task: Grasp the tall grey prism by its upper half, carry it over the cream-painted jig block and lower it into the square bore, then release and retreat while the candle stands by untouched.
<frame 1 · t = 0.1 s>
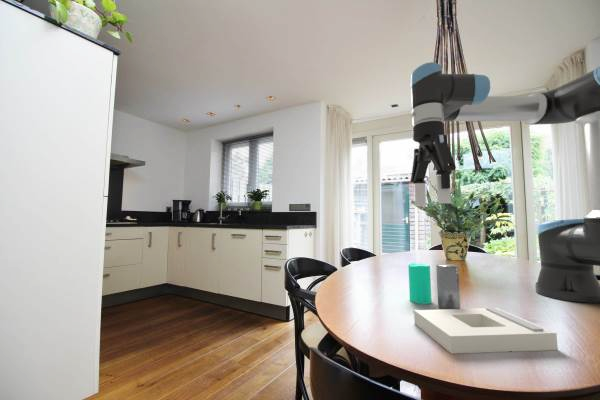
hand: (431, 205, 69), 28 cm above the table, fingers open, 13 cm apart
jig: (477, 335, 56), on the table
tall grey prism: (449, 313, 69), on the table
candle: (420, 301, 79), on the table
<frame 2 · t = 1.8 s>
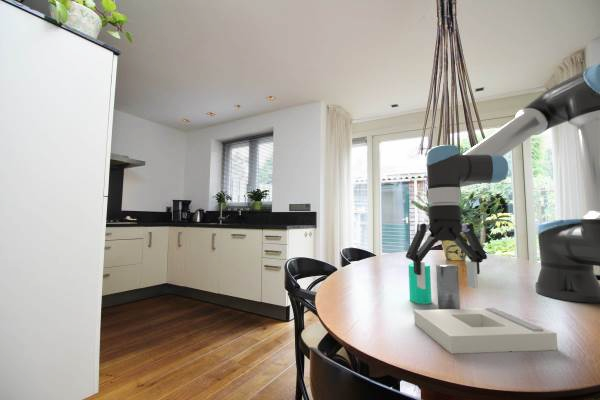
hand: (447, 287, 69), 6 cm above the table, fingers open, 13 cm apart
nothing on the table moved.
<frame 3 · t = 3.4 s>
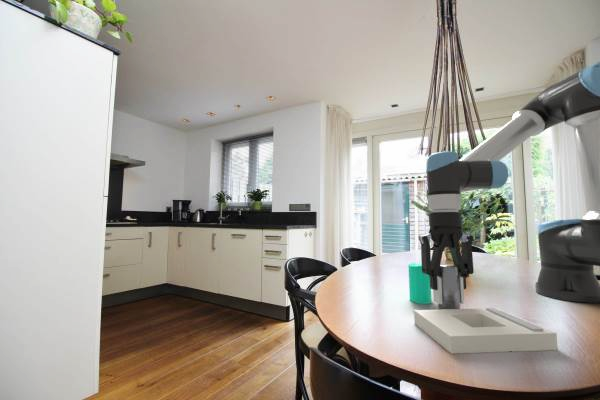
hand: (448, 302, 69), 3 cm above the table, fingers closed on tall grey prism, 5 cm apart
tall grey prism: (449, 313, 69), on the table, touching gripper
everything else where it was.
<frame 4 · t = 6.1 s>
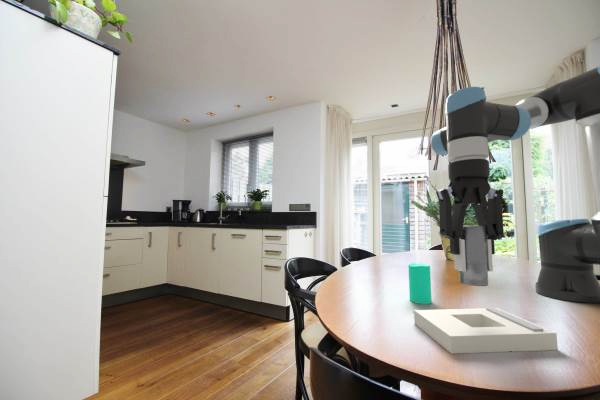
hand: (473, 270, 56), 13 cm above the table, fingers closed on tall grey prism, 5 cm apart
tall grey prism: (473, 283, 56), point 11 cm above the table, touching gripper
everything else where it was.
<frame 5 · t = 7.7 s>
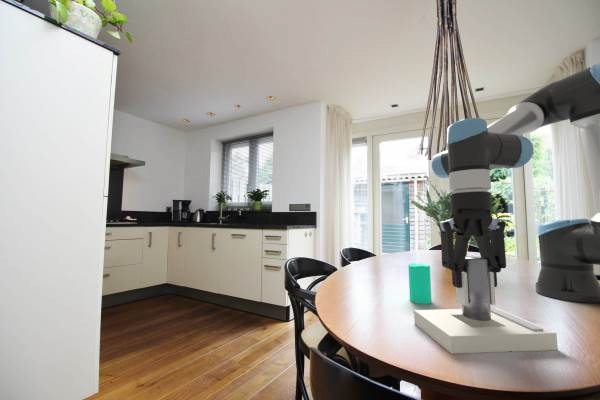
hand: (475, 302, 56), 7 cm above the table, fingers closed on tall grey prism, 5 cm apart
tall grey prism: (476, 316, 56), point 4 cm above the table, touching gripper
everything else where it was.
when the fingers open (5 cm above the table, at t = 8.9 s): tall grey prism drops 1 cm, resting in jig.
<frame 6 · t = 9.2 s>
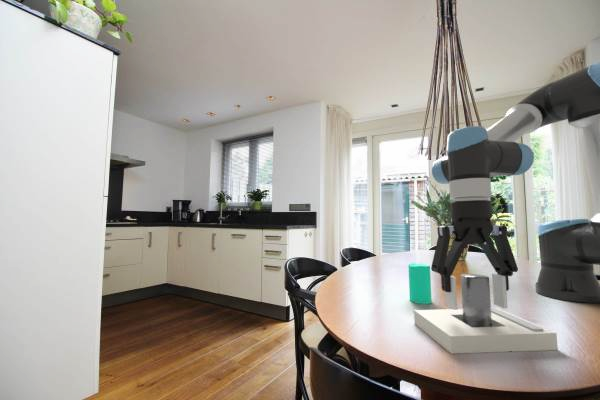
hand: (476, 307, 56), 6 cm above the table, fingers open, 10 cm apart
tall grey prism: (477, 335, 56), resting in jig
everything else where it was.
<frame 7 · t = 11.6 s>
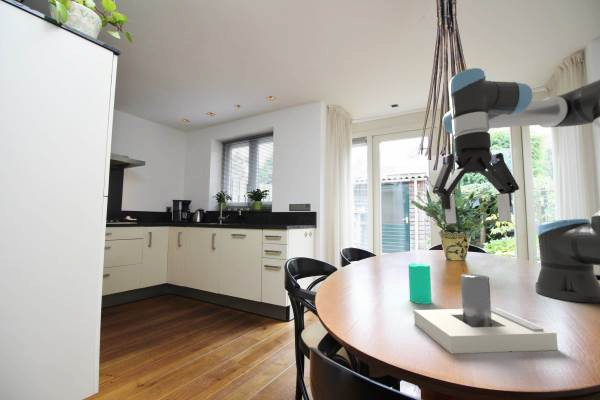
hand: (478, 222, 64), 23 cm above the table, fingers open, 13 cm apart
nothing on the table moved.
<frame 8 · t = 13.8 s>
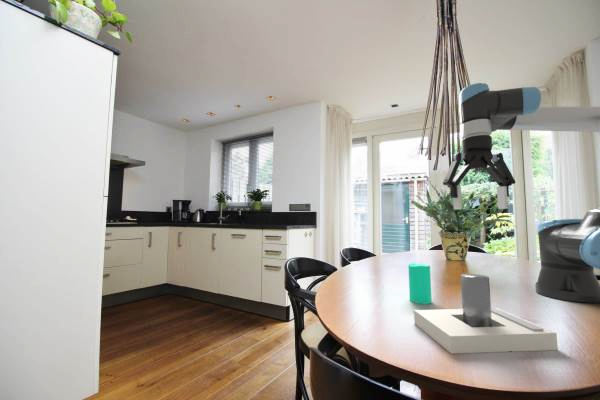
hand: (480, 209, 78), 27 cm above the table, fingers open, 13 cm apart
nothing on the table moved.
at the end: tall grey prism 0.0 cm off-centre on the jig, point 0.0 cm above the jig's base; tall grey prism tilted 0°; the gripper is holding nothing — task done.
